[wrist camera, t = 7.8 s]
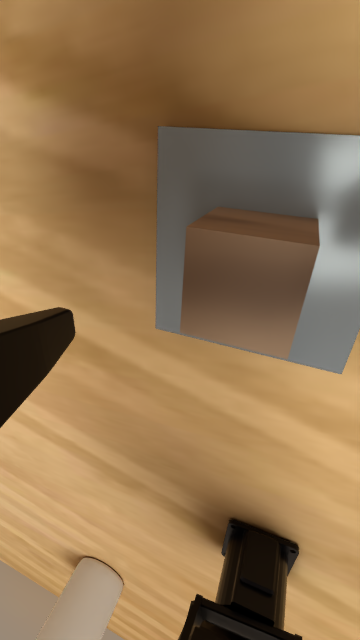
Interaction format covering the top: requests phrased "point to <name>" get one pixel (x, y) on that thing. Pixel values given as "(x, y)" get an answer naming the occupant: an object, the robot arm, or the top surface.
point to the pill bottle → (84, 603)
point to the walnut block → (247, 278)
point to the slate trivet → (271, 197)
